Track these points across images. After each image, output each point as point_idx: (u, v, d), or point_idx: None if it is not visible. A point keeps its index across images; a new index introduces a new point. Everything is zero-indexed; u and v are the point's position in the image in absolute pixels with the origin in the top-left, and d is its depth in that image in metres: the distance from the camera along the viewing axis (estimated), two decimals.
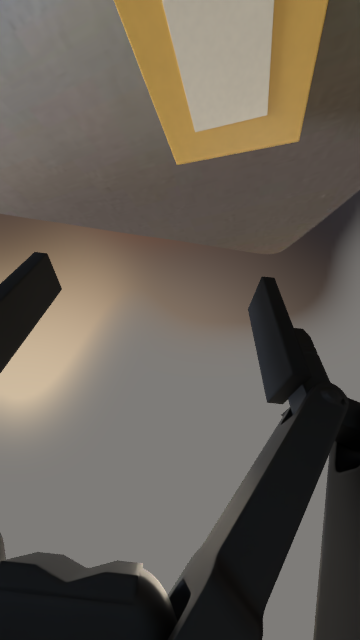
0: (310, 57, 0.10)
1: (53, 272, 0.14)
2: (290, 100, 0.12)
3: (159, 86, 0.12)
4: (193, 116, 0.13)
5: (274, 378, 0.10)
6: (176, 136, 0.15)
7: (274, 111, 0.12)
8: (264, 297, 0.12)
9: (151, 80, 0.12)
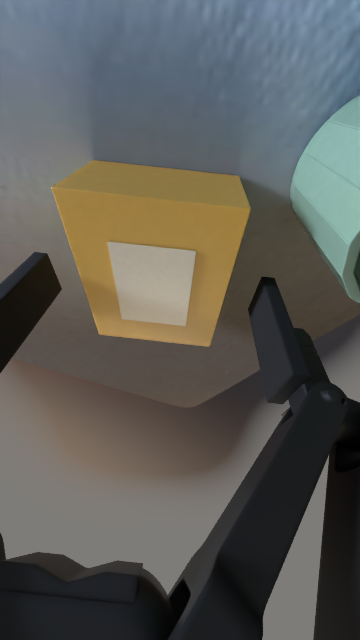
0: (217, 306, 0.13)
1: (53, 272, 0.14)
2: (203, 323, 0.14)
3: (94, 283, 0.13)
4: (122, 309, 0.14)
5: (274, 378, 0.10)
6: (103, 316, 0.15)
7: (190, 325, 0.15)
8: (264, 297, 0.12)
9: (87, 278, 0.12)
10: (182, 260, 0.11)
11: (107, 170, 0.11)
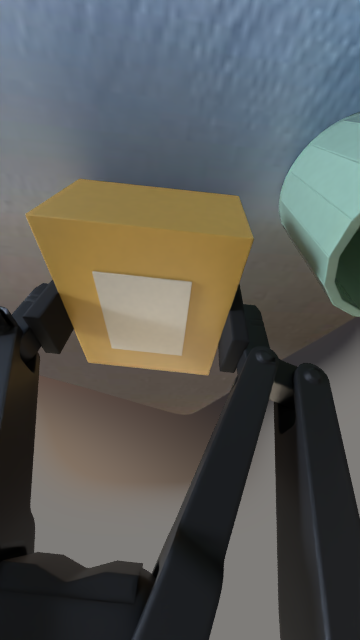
0: (216, 336, 0.12)
1: None
2: (201, 352, 0.13)
3: (79, 313, 0.11)
4: (111, 338, 0.13)
5: (224, 348, 0.11)
6: (91, 345, 0.14)
7: (187, 354, 0.13)
8: None
9: (71, 307, 0.11)
10: (176, 291, 0.10)
11: (93, 191, 0.10)
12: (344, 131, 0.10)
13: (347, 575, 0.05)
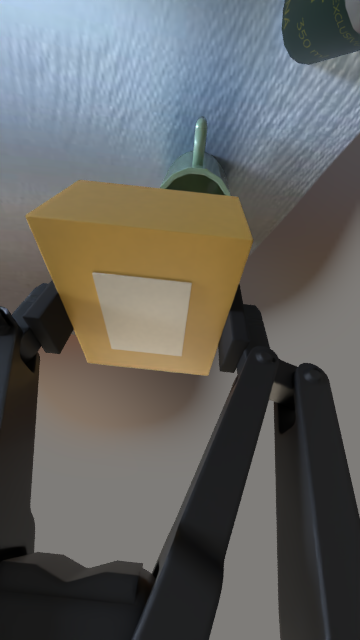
0: (215, 337, 0.12)
1: None
2: (201, 353, 0.13)
3: (80, 313, 0.12)
4: (111, 339, 0.13)
5: (224, 347, 0.11)
6: (91, 345, 0.14)
7: (187, 355, 0.14)
8: None
9: (71, 308, 0.11)
10: (176, 292, 0.10)
11: (93, 192, 0.10)
12: (175, 162, 0.21)
13: (347, 575, 0.05)
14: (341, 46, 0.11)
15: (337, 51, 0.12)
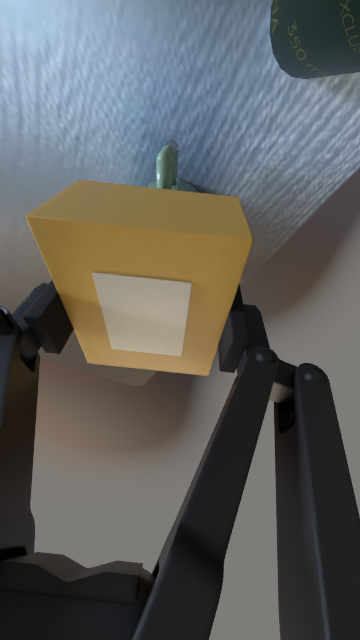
0: (216, 337, 0.12)
1: None
2: (201, 353, 0.13)
3: (79, 314, 0.12)
4: (111, 339, 0.13)
5: (224, 347, 0.11)
6: (91, 345, 0.14)
7: (187, 355, 0.13)
8: None
9: (71, 308, 0.11)
10: (176, 292, 0.10)
11: (93, 192, 0.10)
12: None
13: (347, 575, 0.05)
14: (350, 63, 0.08)
15: (343, 68, 0.09)
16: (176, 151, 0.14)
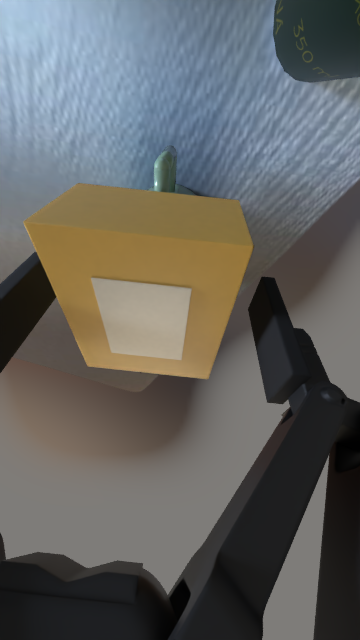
0: (216, 342, 0.12)
1: None
2: (201, 357, 0.13)
3: (79, 318, 0.11)
4: (111, 342, 0.13)
5: (274, 378, 0.10)
6: (90, 349, 0.14)
7: (187, 359, 0.13)
8: (264, 297, 0.12)
9: (70, 313, 0.11)
10: (176, 297, 0.10)
11: (92, 196, 0.10)
12: None
13: None
14: None
15: (354, 72, 0.08)
16: (175, 157, 0.14)
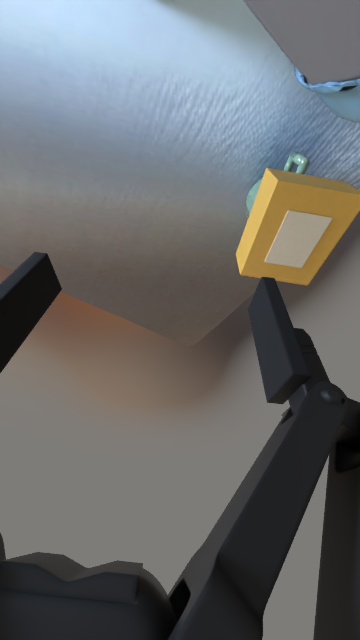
0: (326, 253, 0.23)
1: (53, 272, 0.14)
2: (313, 266, 0.25)
3: (263, 236, 0.23)
4: (268, 254, 0.24)
5: (274, 378, 0.10)
6: (252, 260, 0.25)
7: (304, 267, 0.25)
8: (264, 297, 0.12)
9: (261, 232, 0.22)
10: (322, 223, 0.21)
11: (283, 173, 0.21)
12: None
13: None
14: None
15: None
16: None
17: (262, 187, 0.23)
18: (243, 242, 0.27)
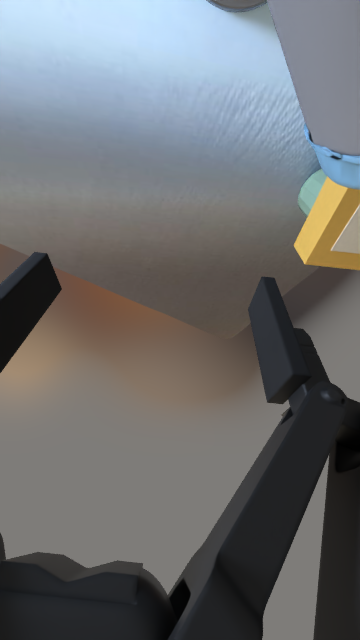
0: None
1: (53, 272, 0.14)
2: None
3: (333, 225, 0.24)
4: (335, 243, 0.25)
5: (274, 378, 0.10)
6: (319, 249, 0.26)
7: None
8: (264, 297, 0.12)
9: (332, 222, 0.24)
10: None
11: None
12: (322, 174, 0.29)
13: None
14: None
15: None
16: None
17: None
18: (305, 233, 0.28)
